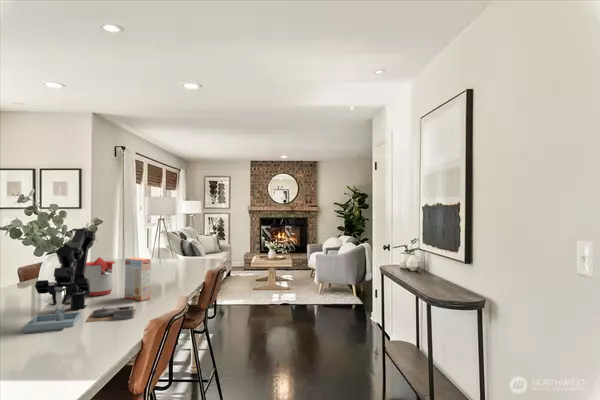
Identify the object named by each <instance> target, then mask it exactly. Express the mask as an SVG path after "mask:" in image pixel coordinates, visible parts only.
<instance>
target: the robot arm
mask: <svg viewBox="0 0 600 400" xmlns="http://www.w3.org/2000/svg"><path fill="white" fill-rule="evenodd" d="M95 241H96V233H95V232H94V231H91V230H90V229H88V228H76V229H75V231H74V234H73V237H72V238H71V240H70V243H64V244H63V246H62V245H61V246H59V248H57V249H56V256H57V257H56V258H57V260H58V262H59V264H61V265H60V267H55V268H54V270H53V272H54V273H53V277H54V281H51V282H49V280H48V279H46V280H45V279H44V280H42V279H41V280H37V281H35V284H34V287H35V290H36V292H37V294H39V295H40V294H41V295H42V294H43V295H44V294H48V295H51V299H52V304H53V305H54V306H55V301H56V291H55V290H54V287H57V286H66V289H65V297H64V301H63V304H64V305H65V304H67V302H69V300H70V303H69V304H70V305H69V306H70V307H69V308H67V311H78V310H85V309H86V307H87V304H85V303H86V302H85V301H86V299H85V298H86V296H90V295H89V294H90V281H89V279H88V278H85V276H84V274H85V268H86V263H88V254H89V250H90V248H92V247H93V245H94V242H95Z"/></svg>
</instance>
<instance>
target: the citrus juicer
mask: <svg viewBox="0 0 600 400" xmlns="http://www.w3.org/2000/svg"><path fill="white" fill-rule="evenodd" d="M115 264H116V262H115V261H110V260H104V259H103V258H102V257H98V258H97V259H95V261H89V262H88V261H87V262H86V268H85V274H84V276H85V278H88V279H89V281H90V294H89V295H88V296H91V297H98V296H97V295H99V296H104V295H110V294H111V292H112V290H113V287H114V283H115V269H116V267H115V266H116V265H115Z"/></svg>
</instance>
